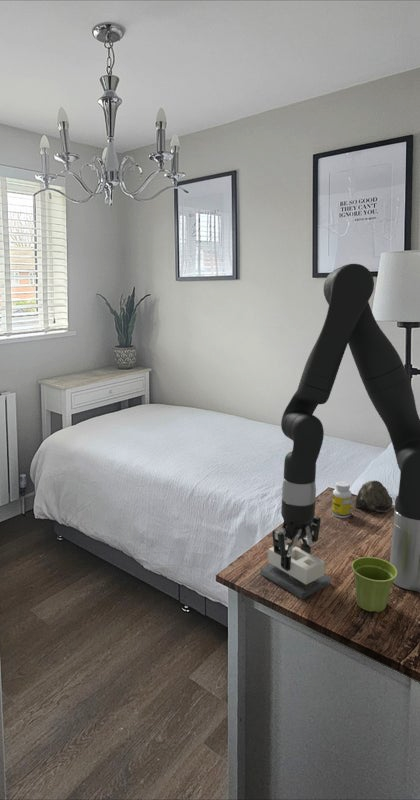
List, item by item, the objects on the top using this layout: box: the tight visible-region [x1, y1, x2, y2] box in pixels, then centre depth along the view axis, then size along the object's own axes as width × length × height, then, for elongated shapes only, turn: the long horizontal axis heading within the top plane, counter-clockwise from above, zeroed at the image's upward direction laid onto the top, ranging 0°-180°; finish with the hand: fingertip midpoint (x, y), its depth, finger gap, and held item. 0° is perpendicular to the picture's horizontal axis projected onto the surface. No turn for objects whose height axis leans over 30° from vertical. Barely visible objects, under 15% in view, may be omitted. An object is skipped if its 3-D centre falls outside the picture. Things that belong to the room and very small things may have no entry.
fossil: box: [354, 480, 393, 515], centre depth 161 cm, size 11×9×10 cm
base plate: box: [260, 559, 332, 600], centre depth 122 cm, size 13×10×4 cm
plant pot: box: [351, 556, 398, 613], centre depth 112 cm, size 9×9×9 cm
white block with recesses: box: [267, 545, 326, 584], centre depth 122 cm, size 12×6×4 cm, turn 39°
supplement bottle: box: [331, 480, 353, 519], centre depth 155 cm, size 5×5×10 cm
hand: (295, 564), depth 122 cm, fingers closed on white block with recesses, 6 cm apart
